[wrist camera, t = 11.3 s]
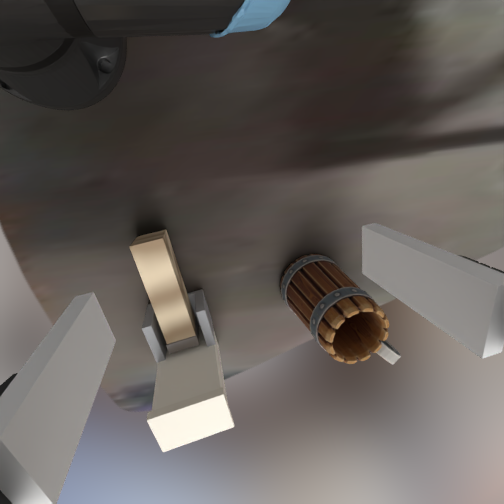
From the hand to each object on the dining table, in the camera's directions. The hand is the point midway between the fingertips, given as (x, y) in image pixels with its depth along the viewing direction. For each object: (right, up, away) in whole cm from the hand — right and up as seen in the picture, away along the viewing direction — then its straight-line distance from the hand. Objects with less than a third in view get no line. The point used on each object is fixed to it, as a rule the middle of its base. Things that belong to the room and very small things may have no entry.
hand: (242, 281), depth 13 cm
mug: (+12, -5, +34) cm, 36 cm away
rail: (-12, -3, +27) cm, 30 cm away
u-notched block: (-10, -11, +31) cm, 34 cm away
